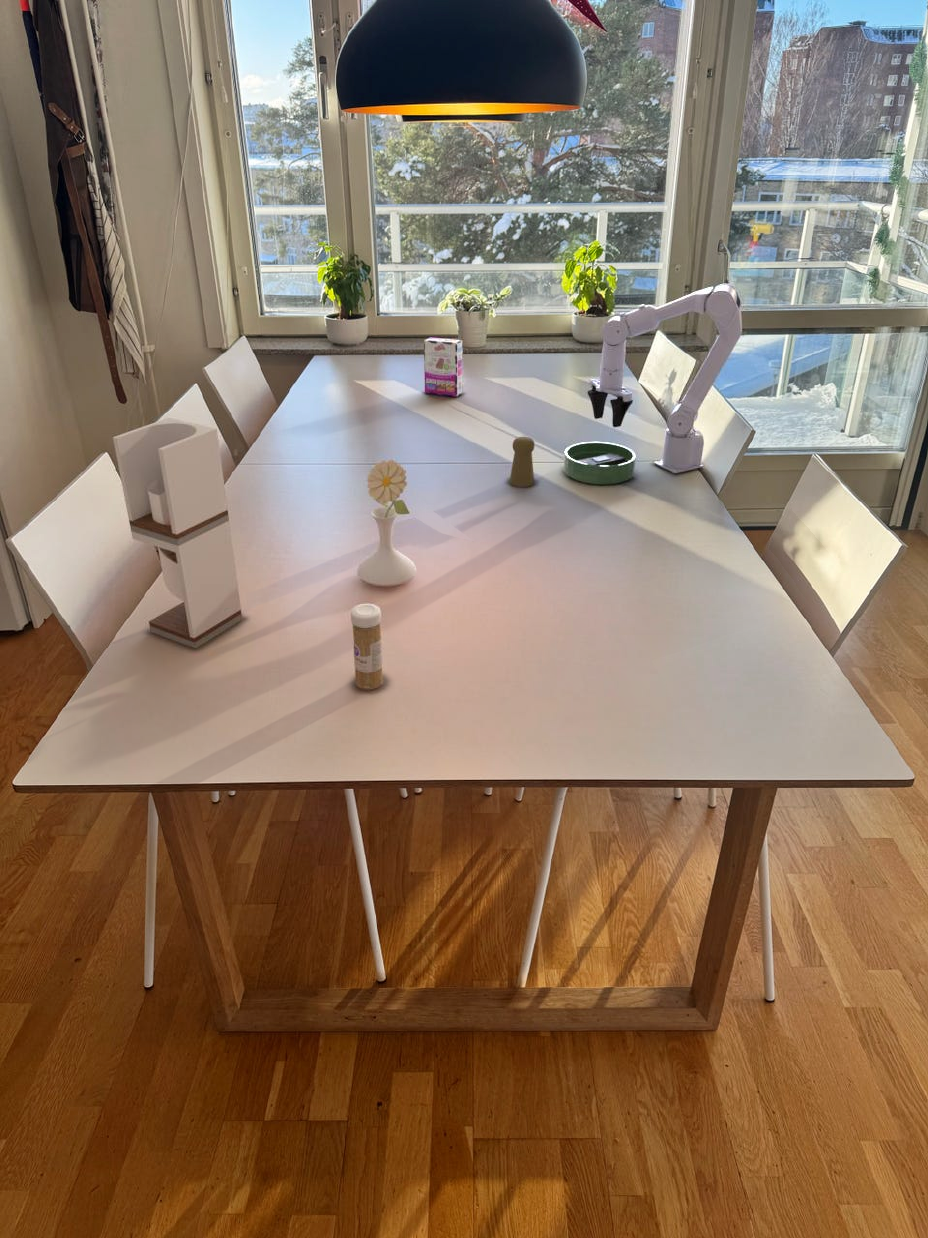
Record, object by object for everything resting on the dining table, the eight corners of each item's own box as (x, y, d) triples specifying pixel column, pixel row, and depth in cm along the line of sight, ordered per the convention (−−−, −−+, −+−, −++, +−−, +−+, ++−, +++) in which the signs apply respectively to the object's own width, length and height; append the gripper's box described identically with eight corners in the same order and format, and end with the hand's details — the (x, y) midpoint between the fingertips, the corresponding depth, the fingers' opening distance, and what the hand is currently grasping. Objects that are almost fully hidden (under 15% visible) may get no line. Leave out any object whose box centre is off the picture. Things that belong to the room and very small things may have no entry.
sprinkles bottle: (349, 683, 143) (344, 610, 136) (369, 671, 146) (365, 599, 139) (369, 694, 140) (365, 620, 134) (389, 682, 143) (386, 608, 137)
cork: (532, 487, 214) (534, 443, 209) (507, 485, 215) (509, 441, 210) (536, 478, 219) (538, 435, 214) (511, 476, 220) (513, 433, 215)
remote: (612, 463, 227) (614, 451, 225) (623, 469, 224) (625, 456, 222) (572, 472, 222) (573, 459, 220) (583, 478, 218) (584, 465, 217)
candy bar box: (463, 393, 281) (463, 339, 273) (456, 397, 277) (457, 343, 269) (430, 389, 285) (430, 336, 276) (423, 393, 281) (423, 339, 272)
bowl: (604, 456, 233) (606, 437, 231) (648, 478, 220) (650, 458, 218) (549, 467, 226) (550, 448, 223) (591, 490, 213) (593, 471, 210)
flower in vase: (346, 575, 175) (338, 452, 162) (395, 559, 181) (391, 440, 168) (383, 601, 166) (377, 474, 153) (433, 584, 172) (431, 460, 159)
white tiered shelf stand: (198, 604, 165) (168, 417, 147) (242, 619, 160) (216, 428, 142) (150, 631, 156) (112, 437, 138) (195, 648, 151) (162, 449, 134)
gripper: (581, 363, 224) (577, 416, 231) (617, 377, 214) (612, 432, 221) (604, 360, 227) (599, 412, 234) (641, 373, 217) (635, 428, 224)
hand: (607, 422), depth 228 cm, fingers open, 7 cm apart
